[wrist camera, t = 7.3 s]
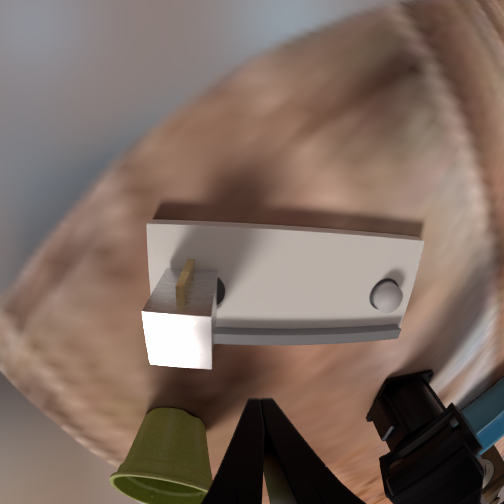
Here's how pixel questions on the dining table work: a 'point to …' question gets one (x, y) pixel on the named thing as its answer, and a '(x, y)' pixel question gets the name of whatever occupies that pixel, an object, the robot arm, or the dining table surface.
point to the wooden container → (492, 475)
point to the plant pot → (166, 460)
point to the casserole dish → (487, 415)
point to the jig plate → (293, 279)
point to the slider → (182, 318)
